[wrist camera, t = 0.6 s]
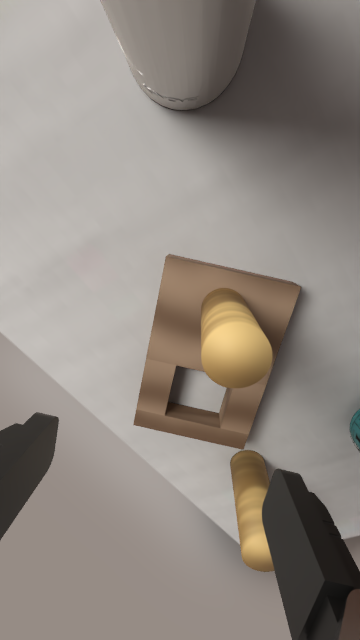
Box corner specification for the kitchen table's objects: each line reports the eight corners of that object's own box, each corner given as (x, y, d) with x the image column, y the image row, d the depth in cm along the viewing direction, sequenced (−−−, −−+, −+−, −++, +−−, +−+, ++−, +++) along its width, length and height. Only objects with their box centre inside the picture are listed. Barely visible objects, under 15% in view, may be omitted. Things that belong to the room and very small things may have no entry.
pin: (235, 446, 33) (249, 534, 24) (268, 454, 33) (295, 545, 24) (226, 472, 34) (236, 565, 25) (258, 479, 34) (280, 575, 25)
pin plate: (169, 254, 27) (143, 274, 15) (292, 281, 27) (364, 324, 15) (138, 410, 33) (102, 515, 21) (240, 433, 33) (262, 551, 21)
